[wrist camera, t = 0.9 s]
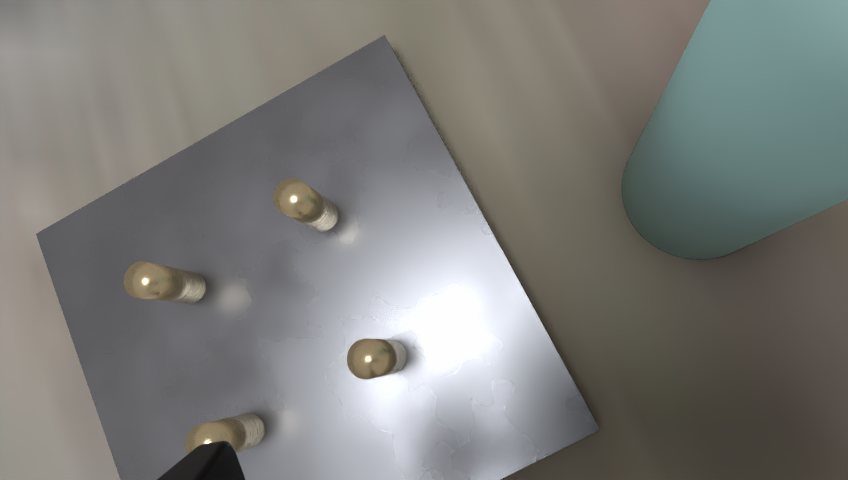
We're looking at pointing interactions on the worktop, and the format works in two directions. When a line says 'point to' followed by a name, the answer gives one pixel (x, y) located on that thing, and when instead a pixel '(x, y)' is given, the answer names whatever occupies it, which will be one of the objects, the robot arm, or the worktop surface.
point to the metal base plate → (312, 300)
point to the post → (745, 129)
